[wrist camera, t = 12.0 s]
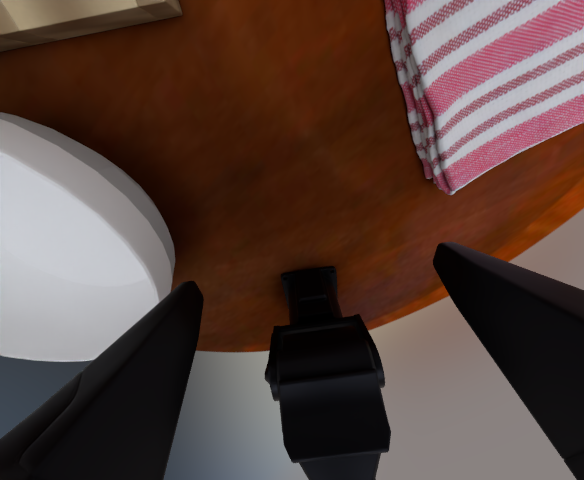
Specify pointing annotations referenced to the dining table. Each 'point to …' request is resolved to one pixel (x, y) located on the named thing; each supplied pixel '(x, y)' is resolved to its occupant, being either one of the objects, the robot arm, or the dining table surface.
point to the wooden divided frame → (74, 18)
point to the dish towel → (486, 79)
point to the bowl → (73, 247)
